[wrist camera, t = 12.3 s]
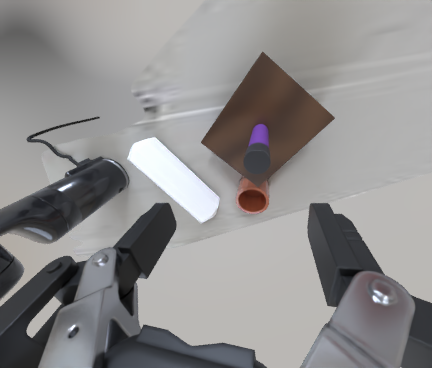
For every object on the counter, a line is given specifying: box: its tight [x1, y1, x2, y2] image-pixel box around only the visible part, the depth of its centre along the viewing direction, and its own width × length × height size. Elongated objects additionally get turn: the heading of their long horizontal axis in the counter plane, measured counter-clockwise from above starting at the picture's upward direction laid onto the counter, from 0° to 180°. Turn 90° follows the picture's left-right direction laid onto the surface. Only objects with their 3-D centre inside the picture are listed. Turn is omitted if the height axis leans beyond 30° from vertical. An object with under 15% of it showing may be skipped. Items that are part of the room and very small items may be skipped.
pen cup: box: [236, 177, 269, 214], centre depth 36 cm, size 6×6×6 cm
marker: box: [243, 124, 271, 174], centre depth 20 cm, size 2×2×11 cm
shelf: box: [201, 52, 335, 187], centre depth 28 cm, size 12×14×8 cm
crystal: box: [128, 137, 219, 224], centre depth 40 cm, size 7×7×24 cm
